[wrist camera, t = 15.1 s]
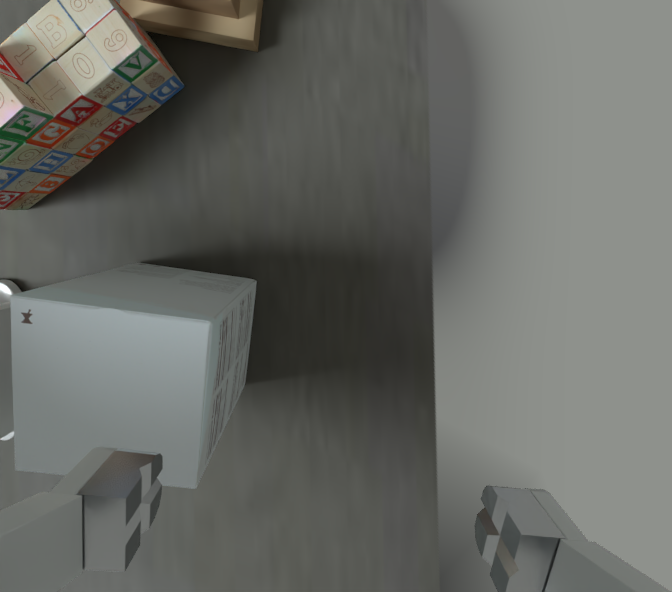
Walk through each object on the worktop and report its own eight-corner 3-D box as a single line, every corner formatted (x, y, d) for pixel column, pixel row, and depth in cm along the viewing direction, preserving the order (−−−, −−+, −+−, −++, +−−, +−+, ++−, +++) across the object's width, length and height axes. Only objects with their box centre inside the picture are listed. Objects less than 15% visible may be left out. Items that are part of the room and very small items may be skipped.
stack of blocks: (145, 28, 37) (59, -62, 25) (187, 87, 38) (124, 27, 26) (-17, 160, 39) (-170, 136, 27) (27, 212, 40) (-100, 210, 28)
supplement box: (131, 373, 44) (8, 473, 27) (135, 260, 41) (3, 292, 24) (246, 387, 45) (199, 493, 28) (258, 277, 42) (214, 320, 25)
